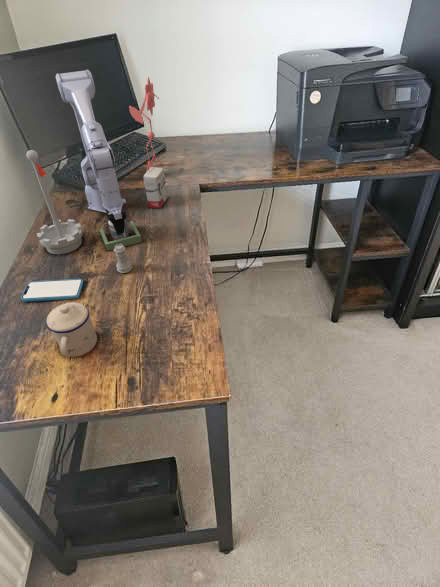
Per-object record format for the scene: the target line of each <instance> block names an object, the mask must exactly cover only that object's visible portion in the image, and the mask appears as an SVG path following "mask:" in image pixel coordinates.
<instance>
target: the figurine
mask: <svg viewBox="0 0 440 587" xmlns="http://www.w3.org/2000/svg"><path fill="white" fill-rule="evenodd" d="M146 81H147V82H146V83H145V84H144V91H145V92H144V98H143V99H144V100H143V102H142V105H141V108H140V110H138V109H137V108H136V107H135V106H132V105H129V106H128V110H129V113H130V115H131V117H132V118H133V119H134V121H135V122H138V123H139V124H141V125H144V118H143V116H144V117H145V118H146V119H147V120H148V121H149V122H148V123H149V128H150V131H149V132H147V138H148V139H149V140H148V141H147V144H146V145H145V149H146V153H147V158H148V161H147V169H146V172H147V171H148V170H149V169H150V167H156V166H155V165H154V164H153V161H154V159H156V160H157V161H158V162H159V164H161V165H163V163H162V162H161V161H160V160H159V158H158V157H157V156H156V154H155V150H154V146H153V143H152V140H153V139H154V138H155V133H154V132H153V128H152V120H151V118H150V117H148V116H147V115H146V114H145V113H144V110H145V105H146V111H148V112H149V113H150V115H151V116H153V115H154V114H153V113H154V108H155V106H156V102H155V97H156V98H157V100H160V98H159V97H158V95H156V94H155V92H154V84H153V82H151V79H150V77H149V76H148V77H147V79H146ZM149 144H150V146H151V149H152V152H153V153H151V154H152V157H151V159H150V154H149V150H148V146H149ZM172 162H173V163H175V161H174V160H173V161H172ZM176 164H177V165H179V162H178V163H177V162H176ZM181 170H182V168H180V169H179V171H178V173H180V172H181ZM146 172H145V173H146ZM178 173H177V174H175V176H177V175H178ZM139 182H140V183H143V181H142V180H141V181H139Z"/></svg>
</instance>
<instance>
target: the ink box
mask: <svg viewBox="0 0 440 587" xmlns="http://www.w3.org/2000/svg"><path fill="white" fill-rule="evenodd" d="M146 171H147V170H146ZM142 178H143V184H144V188H145V194H146V199H147V205H148V208H153V209H162V207H163V206H164V204H165V202H166V201H167V199H168V191H167V183H166V176H165V169H164V167H158V166H157V167H156V166H155V167H150V168H149V170H148V171H147V172H145V173H144V175H143V177H142Z"/></svg>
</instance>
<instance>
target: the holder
mask: <svg viewBox="0 0 440 587" xmlns="http://www.w3.org/2000/svg"><path fill="white" fill-rule="evenodd" d="M129 224H130V229H131V231H132V232H133V234H134V235H129V237H126V238H122V239H118V240H111V241H108V237H107V235H106V234H105V231H104V229H103V227H102V228H99V231H100V236H101V238H102V241H103V243H104V246H105V249H106V251H107V252H109V251H112V250H113V251H114V248H115V247H114V246H116V245H117V244H118V245H120V244H121V245H122V244H123V245H124V247H128V246H131V245H135V244H139V243H142V242H143V240H142V235H141V234H140V232H139V230H138V228H137V227H136V224H135V222H134V220H130V221H129Z"/></svg>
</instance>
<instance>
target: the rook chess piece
mask: <svg viewBox="0 0 440 587" xmlns="http://www.w3.org/2000/svg"><path fill="white" fill-rule="evenodd" d="M114 247H115V248H114V249H113V251H114V252H115V256H116V258H117V262H116V265H115V266H116V271H117V272H118V273H120V274H128V273H130V272H131V271H132V270H133V265H132V262H131V261H130V260H129V259H128V257H127V255H126V254H127V252H126V249H127V248H126V246H124V245H123V244H122V245H121V244H120V245H118V244H117V245H116V246H114Z"/></svg>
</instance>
